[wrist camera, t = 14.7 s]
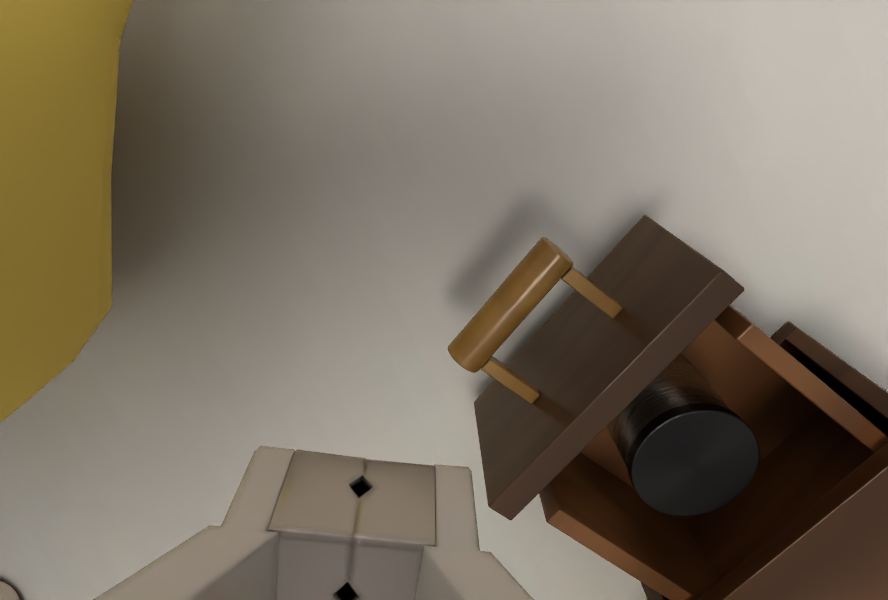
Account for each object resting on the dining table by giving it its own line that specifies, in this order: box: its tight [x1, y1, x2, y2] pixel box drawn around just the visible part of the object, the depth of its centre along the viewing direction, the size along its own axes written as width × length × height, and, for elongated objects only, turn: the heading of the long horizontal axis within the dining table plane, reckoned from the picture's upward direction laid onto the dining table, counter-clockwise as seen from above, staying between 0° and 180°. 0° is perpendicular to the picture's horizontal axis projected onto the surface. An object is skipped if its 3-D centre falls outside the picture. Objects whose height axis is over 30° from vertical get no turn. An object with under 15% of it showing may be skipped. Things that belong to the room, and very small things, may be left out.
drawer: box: [448, 215, 888, 600], centre depth 27 cm, size 19×12×8 cm, turn 52°
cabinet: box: [640, 322, 888, 600], centre depth 30 cm, size 16×14×10 cm
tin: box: [606, 354, 759, 516], centre depth 27 cm, size 5×5×6 cm
